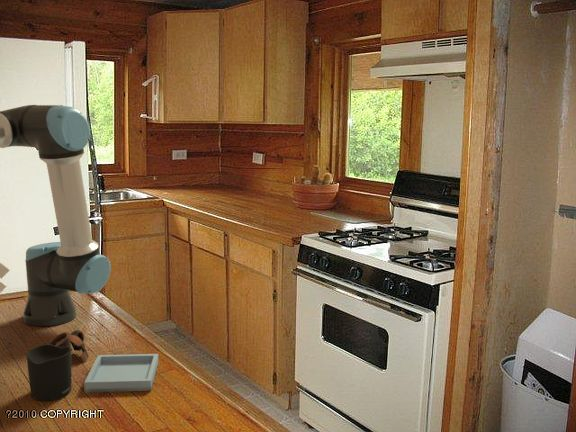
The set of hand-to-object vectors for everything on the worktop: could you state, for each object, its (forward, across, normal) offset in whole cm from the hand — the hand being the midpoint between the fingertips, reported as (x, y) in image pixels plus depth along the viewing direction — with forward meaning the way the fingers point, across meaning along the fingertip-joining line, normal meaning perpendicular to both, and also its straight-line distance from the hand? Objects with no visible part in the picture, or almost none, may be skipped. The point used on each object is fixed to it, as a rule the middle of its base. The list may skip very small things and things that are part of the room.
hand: (4, 282), depth 134 cm
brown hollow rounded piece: (+28, -13, -9) cm, 32 cm away
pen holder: (+24, +5, -12) cm, 28 cm away
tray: (+36, +2, 0) cm, 36 cm away
